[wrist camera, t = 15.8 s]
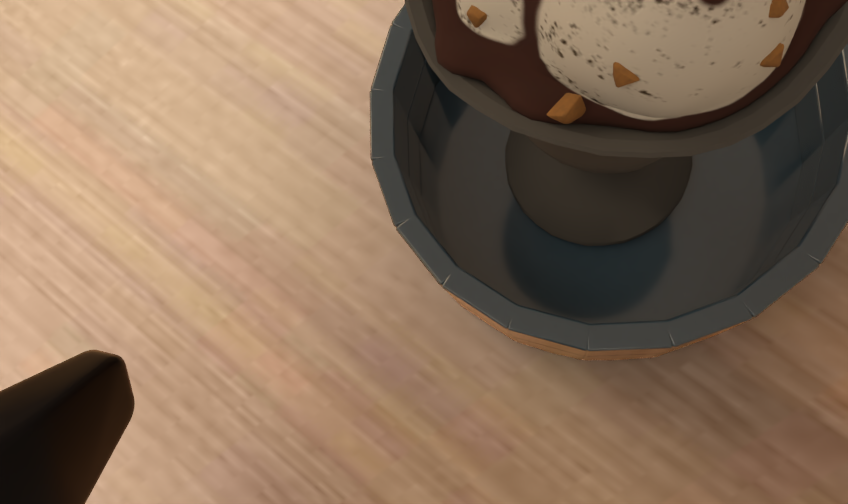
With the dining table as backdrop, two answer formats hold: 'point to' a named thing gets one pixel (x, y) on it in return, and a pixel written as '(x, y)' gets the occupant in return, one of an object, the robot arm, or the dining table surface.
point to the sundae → (623, 92)
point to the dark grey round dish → (619, 263)
